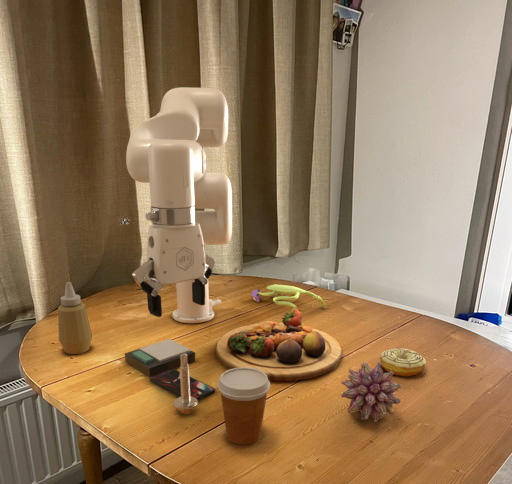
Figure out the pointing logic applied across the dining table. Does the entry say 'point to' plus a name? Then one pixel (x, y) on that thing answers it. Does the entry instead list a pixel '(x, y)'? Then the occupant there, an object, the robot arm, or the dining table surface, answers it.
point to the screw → (185, 389)
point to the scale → (158, 357)
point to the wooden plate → (280, 349)
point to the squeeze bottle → (73, 323)
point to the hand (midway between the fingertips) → (177, 309)
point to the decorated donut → (402, 361)
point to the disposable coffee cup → (243, 403)
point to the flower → (371, 391)
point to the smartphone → (172, 384)
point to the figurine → (285, 294)
